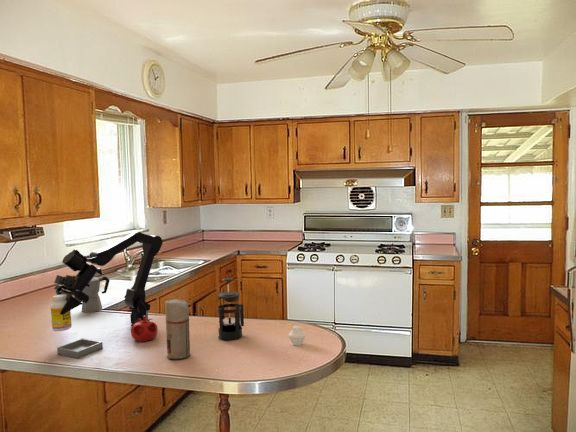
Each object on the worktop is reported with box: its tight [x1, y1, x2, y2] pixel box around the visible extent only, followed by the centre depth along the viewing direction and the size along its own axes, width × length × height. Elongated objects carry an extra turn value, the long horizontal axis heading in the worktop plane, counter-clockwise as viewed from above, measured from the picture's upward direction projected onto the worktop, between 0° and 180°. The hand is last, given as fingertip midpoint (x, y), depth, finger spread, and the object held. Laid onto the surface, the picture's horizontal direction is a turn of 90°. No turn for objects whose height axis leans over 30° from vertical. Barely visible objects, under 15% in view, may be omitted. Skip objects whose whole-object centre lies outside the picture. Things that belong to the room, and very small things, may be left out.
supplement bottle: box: [50, 294, 73, 332], centre depth 179 cm, size 7×7×13 cm
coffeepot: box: [81, 276, 110, 313], centre depth 230 cm, size 15×9×18 cm, turn 113°
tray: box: [57, 338, 104, 360], centre depth 173 cm, size 11×11×2 cm
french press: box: [216, 277, 245, 342], centre depth 183 cm, size 12×9×23 cm
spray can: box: [164, 298, 191, 360], centre depth 165 cm, size 8×8×20 cm
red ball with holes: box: [130, 316, 158, 343], centre depth 184 cm, size 10×10×9 cm
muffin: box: [288, 325, 306, 347], centre depth 173 cm, size 6×6×7 cm
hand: (57, 312), depth 178 cm, fingers closed on supplement bottle, 6 cm apart
